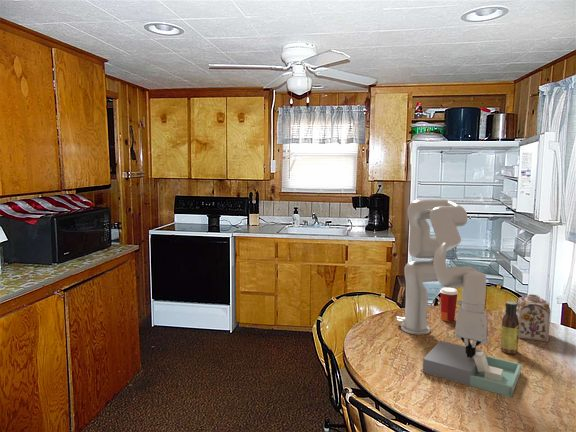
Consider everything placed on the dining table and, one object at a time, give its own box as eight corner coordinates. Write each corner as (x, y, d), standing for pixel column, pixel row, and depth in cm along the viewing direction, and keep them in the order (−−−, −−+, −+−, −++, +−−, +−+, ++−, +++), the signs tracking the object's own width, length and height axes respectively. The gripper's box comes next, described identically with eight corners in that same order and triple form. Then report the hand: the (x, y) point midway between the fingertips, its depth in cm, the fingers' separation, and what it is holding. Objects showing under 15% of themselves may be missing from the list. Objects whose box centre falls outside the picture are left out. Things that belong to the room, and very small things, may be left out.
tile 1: (473, 357, 148) (480, 357, 147) (476, 352, 152) (483, 351, 151) (478, 371, 148) (485, 371, 147) (481, 365, 152) (488, 365, 151)
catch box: (469, 385, 143) (470, 375, 143) (482, 363, 159) (483, 354, 159) (511, 397, 136) (511, 387, 135) (520, 373, 152) (521, 363, 152)
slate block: (422, 372, 152) (423, 358, 152) (439, 352, 169) (440, 340, 168) (469, 385, 143) (470, 371, 143) (482, 363, 159) (483, 350, 159)
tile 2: (500, 375, 144) (500, 382, 144) (503, 369, 148) (502, 376, 148) (484, 370, 147) (484, 377, 147) (487, 365, 151) (487, 372, 151)
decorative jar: (548, 342, 179) (551, 301, 177) (517, 338, 183) (520, 297, 181) (543, 332, 190) (546, 293, 188) (514, 328, 194) (516, 290, 192)
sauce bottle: (520, 355, 166) (523, 306, 164) (502, 353, 168) (505, 305, 165) (514, 348, 173) (517, 301, 170) (498, 347, 174) (501, 300, 172)
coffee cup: (457, 318, 207) (458, 288, 206) (456, 323, 200) (457, 292, 198) (439, 315, 211) (440, 286, 209) (437, 321, 203) (438, 290, 202)
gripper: (448, 305, 151) (445, 354, 153) (493, 313, 142) (490, 366, 144) (453, 300, 157) (451, 347, 159) (498, 307, 148) (495, 358, 150)
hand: (470, 356), depth 152 cm, fingers closed
